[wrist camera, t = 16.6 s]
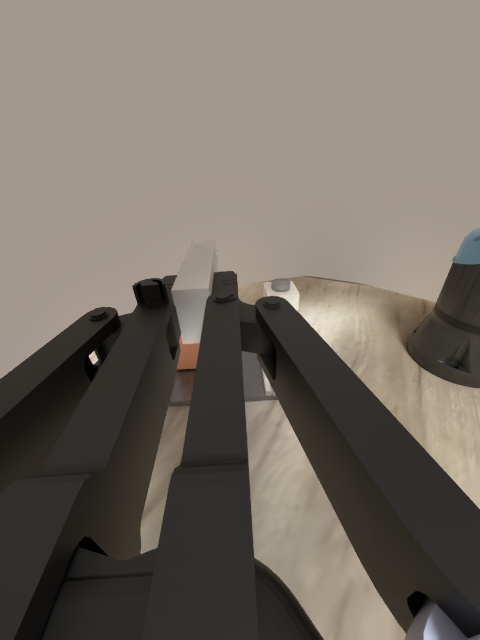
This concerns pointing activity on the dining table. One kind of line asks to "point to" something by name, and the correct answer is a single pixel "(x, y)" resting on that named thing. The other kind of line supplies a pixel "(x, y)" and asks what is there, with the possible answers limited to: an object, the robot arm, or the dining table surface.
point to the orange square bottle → (188, 355)
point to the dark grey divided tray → (252, 379)
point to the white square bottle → (282, 291)
